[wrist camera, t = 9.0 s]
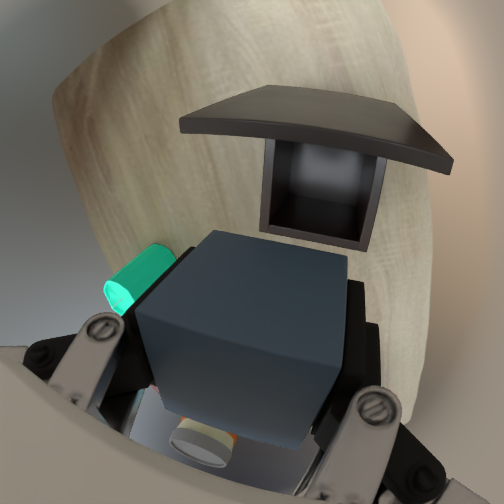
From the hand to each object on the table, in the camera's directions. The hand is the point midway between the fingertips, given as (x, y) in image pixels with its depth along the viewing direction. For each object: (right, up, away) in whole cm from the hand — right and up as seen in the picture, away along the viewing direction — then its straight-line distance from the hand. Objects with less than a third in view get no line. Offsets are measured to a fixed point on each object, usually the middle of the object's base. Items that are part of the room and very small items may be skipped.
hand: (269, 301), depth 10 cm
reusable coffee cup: (-7, -30, +47) cm, 56 cm away
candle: (-14, 0, +33) cm, 36 cm away
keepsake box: (+8, +12, +18) cm, 23 cm away
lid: (+3, +9, +3) cm, 9 cm away
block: (0, 0, 0) cm, 0 cm away
